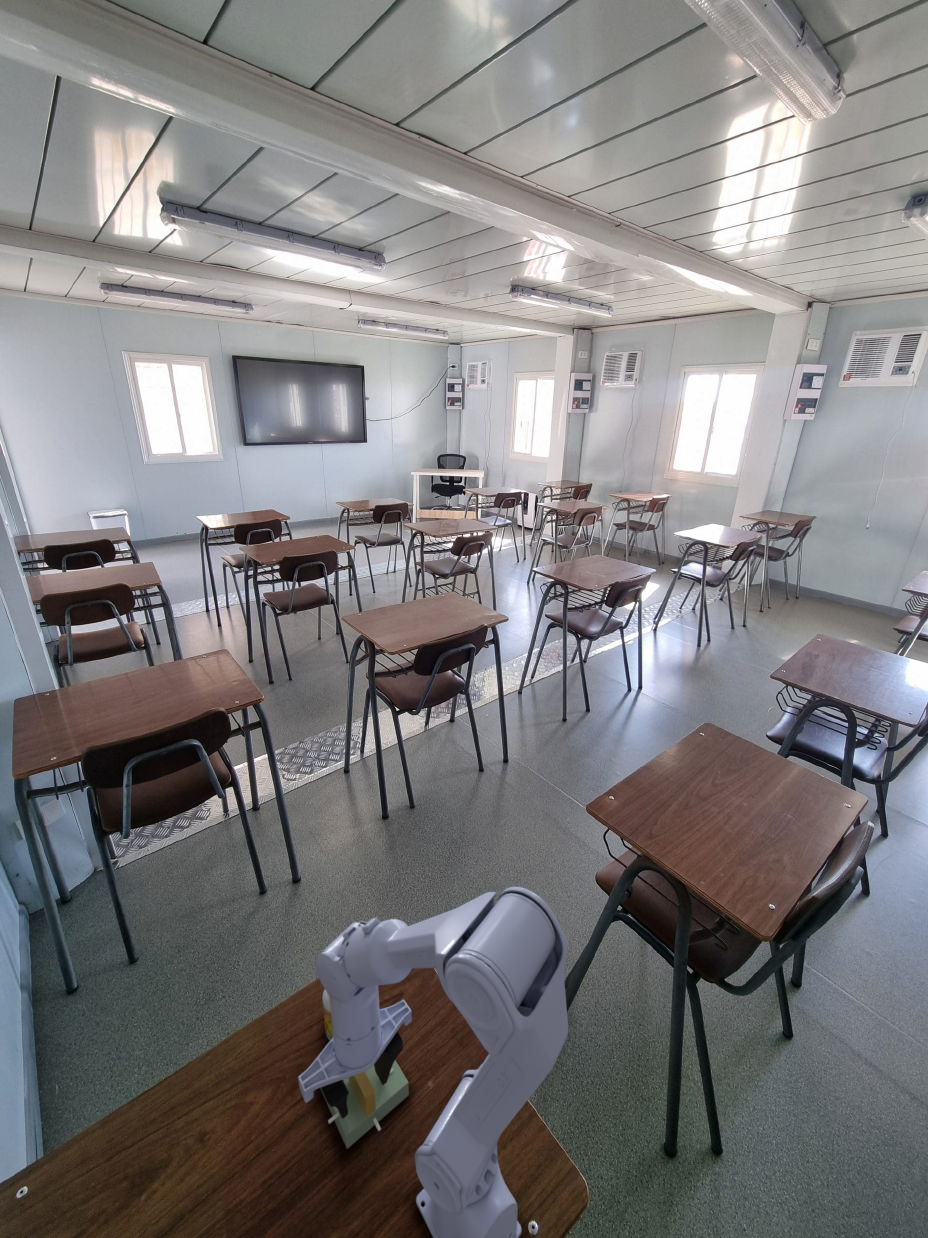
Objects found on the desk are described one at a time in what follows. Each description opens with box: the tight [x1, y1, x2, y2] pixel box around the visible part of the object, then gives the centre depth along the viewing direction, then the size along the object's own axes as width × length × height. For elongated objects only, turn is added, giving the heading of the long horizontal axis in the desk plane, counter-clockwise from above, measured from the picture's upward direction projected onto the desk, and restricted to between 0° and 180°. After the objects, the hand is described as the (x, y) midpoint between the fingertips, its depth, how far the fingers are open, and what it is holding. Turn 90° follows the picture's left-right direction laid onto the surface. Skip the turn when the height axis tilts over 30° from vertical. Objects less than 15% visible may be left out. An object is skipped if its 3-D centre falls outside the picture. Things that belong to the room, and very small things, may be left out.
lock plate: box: [319, 1059, 410, 1149], centre depth 67 cm, size 12×10×3 cm
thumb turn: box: [349, 1071, 376, 1117], centre depth 64 cm, size 5×1×4 cm, turn 39°
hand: (361, 1093), depth 65 cm, fingers open, 5 cm apart
